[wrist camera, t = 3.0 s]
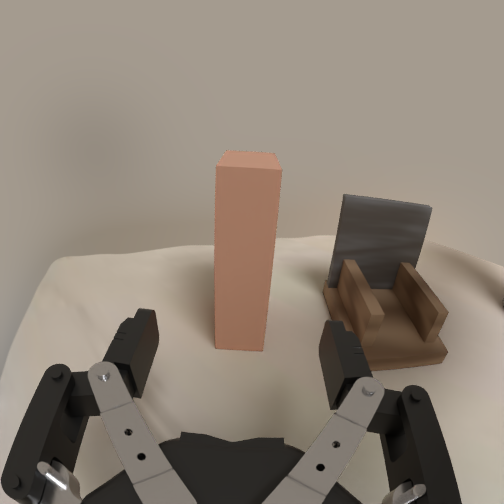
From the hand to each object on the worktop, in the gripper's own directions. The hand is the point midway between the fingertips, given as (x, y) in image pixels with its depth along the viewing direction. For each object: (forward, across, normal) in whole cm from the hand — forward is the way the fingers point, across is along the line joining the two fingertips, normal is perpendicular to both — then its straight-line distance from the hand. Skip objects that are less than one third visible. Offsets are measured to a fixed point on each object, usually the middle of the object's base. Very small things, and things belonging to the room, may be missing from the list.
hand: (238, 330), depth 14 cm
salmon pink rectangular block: (+11, 0, +9) cm, 14 cm away
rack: (+11, -14, +9) cm, 20 cm away
